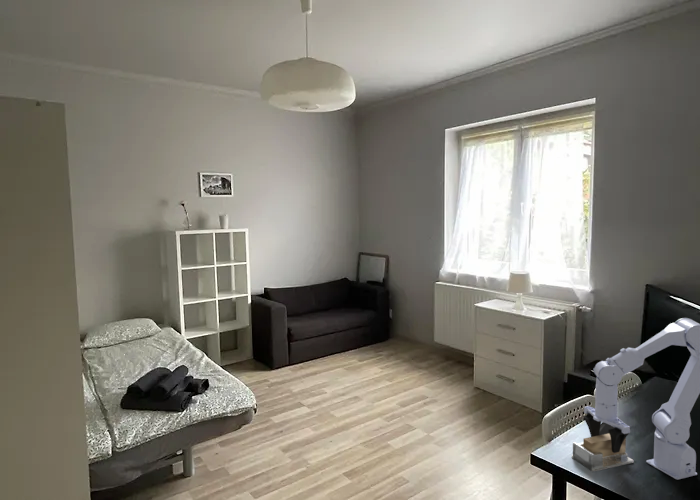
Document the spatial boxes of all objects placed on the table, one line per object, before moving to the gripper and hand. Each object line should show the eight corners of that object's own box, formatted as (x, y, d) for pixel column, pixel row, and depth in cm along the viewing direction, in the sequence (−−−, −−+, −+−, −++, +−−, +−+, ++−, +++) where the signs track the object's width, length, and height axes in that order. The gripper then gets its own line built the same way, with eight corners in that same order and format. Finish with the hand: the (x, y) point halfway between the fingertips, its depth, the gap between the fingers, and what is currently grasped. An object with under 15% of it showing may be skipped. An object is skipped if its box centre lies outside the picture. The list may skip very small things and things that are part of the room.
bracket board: (610, 449, 138) (611, 434, 137) (633, 462, 130) (633, 446, 130) (571, 457, 133) (571, 441, 133) (592, 471, 126) (593, 455, 125)
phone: (628, 428, 149) (617, 445, 138) (628, 431, 149) (617, 448, 139) (602, 421, 155) (590, 436, 144) (602, 424, 155) (589, 440, 144)
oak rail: (616, 447, 135) (617, 431, 135) (625, 452, 132) (625, 436, 132) (583, 454, 131) (583, 438, 131) (591, 459, 128) (591, 443, 128)
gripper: (576, 394, 136) (575, 436, 137) (616, 414, 123) (615, 460, 124) (594, 391, 138) (593, 432, 139) (636, 410, 125) (634, 456, 125)
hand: (605, 445), depth 132 cm, fingers open, 7 cm apart
